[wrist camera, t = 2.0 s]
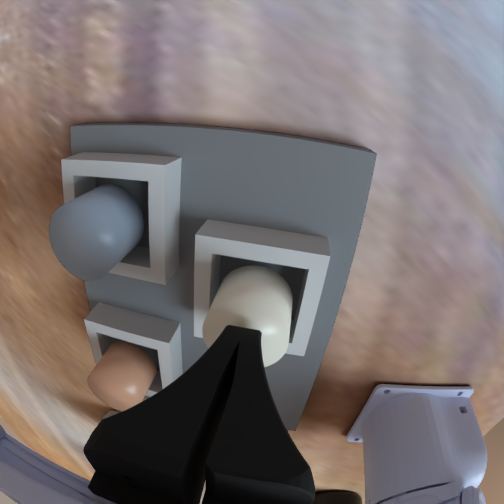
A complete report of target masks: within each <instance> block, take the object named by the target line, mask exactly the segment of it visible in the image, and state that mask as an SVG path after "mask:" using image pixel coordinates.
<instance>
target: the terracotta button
mask: <svg viewBox="0 0 504 504" xmlns="http://www.w3.org/2000/svg"><path fill="white" fill-rule="evenodd" d="M156 372H157V370H156V366H155V363H154V361H153V360H152V359H151V357H150V356H149V355H148V354H147V353H146V352H145V351H143V350H142V349H141V348H139V347H137V346H135V345H133V344H131V343H128V342H123V341H118V342H114V343H112V344H111V345H110V347H109V348H108V349H107V351H106V352H105V354H104V355H103V356H102V358H101V359H100V361H99V362H98V364H97V365H96V366H95V368H94V369H93V371H92V372H91V374H90V375H89V377H88V385H89V387H90V389H91V390H92V392H93V393H94V394H95V395H96V396H97V397H98V398H99V399H100V400H101V401H102V402H104V403H105V404H107V405H108V406H110V407H112V408H114V409H116V410H119V411H125V410H127V409H129V408H131V407H133V406H135V405H137V404H139V403H140V402H142V401H143V399H144V397H145V395H146V393H147V391H148V389H149V387H150V385H151V383H152V381H153V379H154V377H155V375H156Z"/></svg>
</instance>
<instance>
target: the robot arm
mask: <svg viewBox="0 0 504 504" xmlns="http://www.w3.org/2000/svg"><path fill="white" fill-rule="evenodd" d="M261 336H262V333H261V331H260V330H255V329H249V328H244V327H238V326H233V325H227V326H226V327H225V328H224V330H223V331H222V333H221V334H220V335H219V337H218V338H217V339H216V340H215V342H214V343H213V344H212V345H211V346H210V348H209V349H208V350H207V351H206V352H205V353H204V354H203V355H202V356H201V357H200V358H199V359H198V360H197V361H196V362H195V363H194V364H193V365H192V366H191V367H190V368H189V369H188V370H187V371H186V372H184V373H183V374H182V375H181V376H180V377H178V378H177V379H176V380H175V381H173V382H172V383H171V384H169V385H168V386H166V387H165V388H164V389H162V390H161V391H159V392H158V393H156V394H155V395H153V396H151V397H150V398H148V399H146V400H144V401H142V402H140V403H139V404H137V405H135V406H133V407H131V408H129V409H127V410H125V411H122V412H120V413H117V414H115V415H112V416H110V417H107V418H104V419H102V421H101V422H100V423H99V424H98V426H97V427H96V428H95V430H94V431H93V432H92V434H91V436H90V438H89V439H88V441H87V443H86V445H85V447H84V450H83V451H84V454H85V456H86V458H87V459H88V461H89V462H90V464H91V465H92V466H93V468H94V469H95V473H94V475H93V477H92V479H91V481H89V480H87V479H85V478H83V477H81V476H79V475H77V474H75V473H73V472H71V471H69V470H67V469H65V468H63V467H61V466H59V465H57V464H55V463H54V462H52V461H50V460H48V459H46V458H45V457H43V456H41V455H40V454H38V453H36V452H35V451H33V450H31V449H30V448H28V447H26V446H24V445H23V444H22V443H20V442H18V441H17V440H15V439H14V438H12V437H11V436H9V435H8V434H7V433H6V432H5V431H4V429H3V428H2V426H1V425H0V491H2V492H3V493H4V494H6V495H7V496H8V497H10V498H11V499H12V500H14V501H15V502H17V503H18V504H199V503H200V499H201V495H202V491H203V487H204V483H205V478H206V490H205V494H204V497H203V501H202V504H312V503H313V502H314V500H315V485H314V480H313V476H312V472H311V469H310V466H309V465H308V463H307V462H306V461H305V459H304V458H303V456H302V455H301V453H300V452H299V450H298V449H297V447H296V446H295V444H294V442H293V441H292V439H291V437H290V435H289V433H288V431H287V429H286V427H285V425H284V424H283V422H282V420H281V417H280V415H279V413H278V410H277V408H276V405H275V403H274V400H273V397H272V394H271V391H270V388H269V384H268V381H267V377H266V373H265V368H264V363H263V357H262V348H261ZM473 392H474V390H473V387H470V386H469V387H442V386H408V385H390V384H379V385H377V386H376V387H375V388H374V390H373V392H372V394H371V395H370V397H369V399H368V401H367V403H366V404H365V406H364V408H363V409H362V411H361V413H360V415H359V416H358V418H357V420H356V421H355V423H354V425H353V426H352V428H351V429H350V431H349V433H348V434H347V436H346V440H347V441H349V442H363V454H364V474H365V504H486V501H485V498H484V495H483V493H482V491H481V490H480V489H478V488H477V487H478V485H479V484H480V482H481V481H482V479H483V476H484V474H485V470H486V464H487V450H486V446H485V442H484V439H483V436H482V433H481V430H480V427H479V424H478V421H477V418H476V415H475V412H474V409H473V406H472V404H471V401H470V396H471V395H472V394H473Z"/></svg>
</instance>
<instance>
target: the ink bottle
mask: <svg viewBox="0 0 504 504" xmlns="http://www.w3.org/2000/svg"><path fill="white" fill-rule="evenodd" d="M312 504H362V498H361V497H360V496H359V495H358V494H355V493H352V492H344V491H334V492H321V493H315V500H314V502H313V503H312Z"/></svg>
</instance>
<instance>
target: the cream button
mask: <svg viewBox="0 0 504 504" xmlns="http://www.w3.org/2000/svg"><path fill="white" fill-rule="evenodd" d="M292 303H293V296H292V292H291V289H290V287H289V285H288V283H287V282H286V280H285V279H284V278H283V277H282V276H280V275H279V274H278V273H276V272H275V271H273V270H271V269H268V268H265V267H261V266H244V267H240V268H237V269H235V270H233V271H231V272H230V273H229V274H228V275H227V276H226V277H225V278H224V279H223V281H222V283H221V285H220V287H219V290H218V292H217V294H216V296H215V298H214V300H213V303H212V305H211V307H210V309H209V311H208V314H207V316H206V318H205V320H204V323H203V327H202V334H203V339H204V341H205V343H206V345H207V347H208V348H210V346H211V345H212V344H213V343H214V342H215V340H216V339H217V338H218V337H219V335H220V334H221V333H222V331H223V330H224V328H225V327H226V326H227V325H233V326H238V327H244V328H249V329H255V330H260V331H261V333H262V336H261V348H262V357H263V363H264V367H267V366H269V365H272V364H274V363H276V362H277V361H278V360H280V359H281V358H282V357H283V355H284V354H285V352H286V351H287V348H288V344H289V335H290V325H291V314H292Z"/></svg>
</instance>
